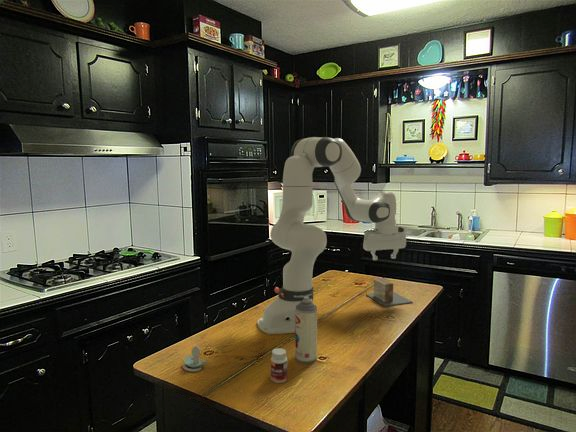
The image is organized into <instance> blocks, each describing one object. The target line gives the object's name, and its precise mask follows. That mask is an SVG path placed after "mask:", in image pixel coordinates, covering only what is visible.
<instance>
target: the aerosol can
mask: <svg viewBox="0 0 576 432" xmlns="http://www.w3.org/2000/svg"><path fill="white" fill-rule="evenodd" d="M294 340H295V341H294V346H295V347H294V359H295V361H296V362H298V363H301V364H305V365H307V364H313V363H314V362H315V363H316V361H317V359H318V354H317V353H318V351H317V350H318V306H317V305H316V304H315V303H313V301H312V302H311V301H310V300H309V297H308V296H305V297H304V300H302V301H301V302H300V303H299V304H298V305H296V309H295V333H294Z"/></svg>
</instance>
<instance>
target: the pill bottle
mask: <svg viewBox="0 0 576 432" xmlns="http://www.w3.org/2000/svg"><path fill="white" fill-rule="evenodd" d="M270 380H271V381H272V382H274V383H276V384H282V383H285V382H286V381H287V380H288V357H287V350H286V349H284V348H282V347H281V348H280V347H277V348H274V349H272V350H271V358H270Z"/></svg>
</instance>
